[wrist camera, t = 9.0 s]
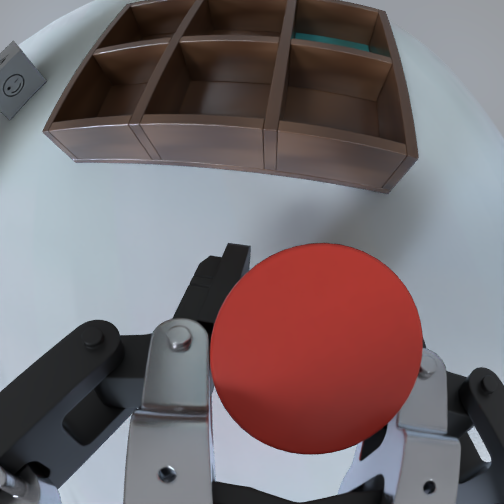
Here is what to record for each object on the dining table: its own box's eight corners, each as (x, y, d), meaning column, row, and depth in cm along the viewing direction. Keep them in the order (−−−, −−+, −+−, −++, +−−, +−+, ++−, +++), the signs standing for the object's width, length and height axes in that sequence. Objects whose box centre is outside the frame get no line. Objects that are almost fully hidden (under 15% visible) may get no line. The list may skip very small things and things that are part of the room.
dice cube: (9, 120, 18) (-20, 92, 13) (2, 102, 19) (-23, 78, 14) (46, 81, 19) (20, 49, 14) (35, 68, 20) (13, 40, 15)
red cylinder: (239, 364, 13) (195, 440, 4) (252, 284, 14) (229, 226, 5) (320, 375, 13) (399, 455, 4) (332, 295, 14) (432, 258, 5)
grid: (75, 162, 16) (41, 131, 12) (140, 37, 19) (126, 3, 15) (388, 194, 15) (419, 158, 11) (373, 49, 17) (385, 11, 13)
